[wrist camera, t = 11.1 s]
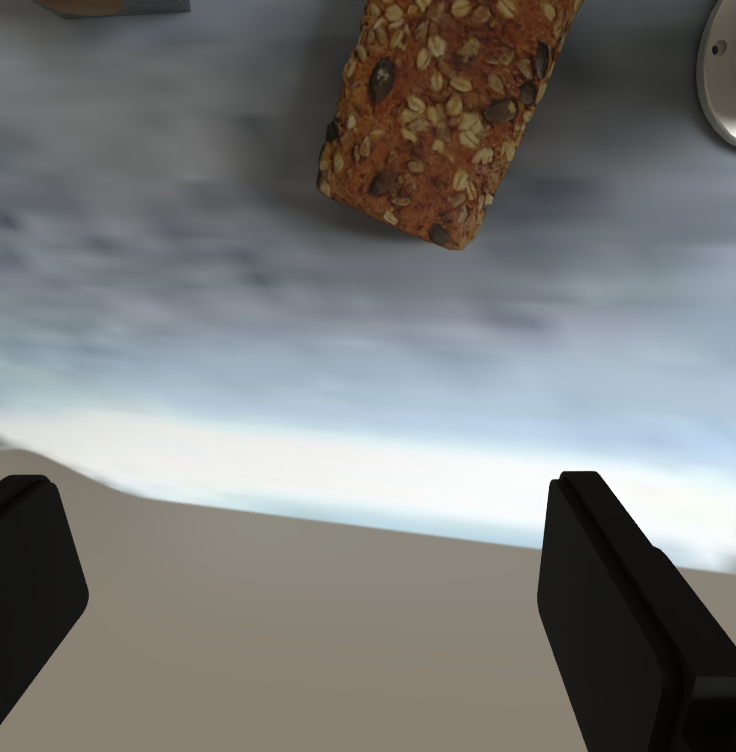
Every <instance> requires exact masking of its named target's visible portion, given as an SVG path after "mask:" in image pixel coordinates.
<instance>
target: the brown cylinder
mask: <svg viewBox="0 0 736 752" xmlns="http://www.w3.org/2000/svg"><path fill="white" fill-rule="evenodd" d="M37 1H38V2H39V3H41V4H43V5H45V6H47V7H49V8H52V9H55V10H59V11H62V12H67V13H72V14H79V15H93V16H97V15H109V14H113V13H117V12H119V11H120V10H121V9H122V8H123V5H122V0H37Z"/></svg>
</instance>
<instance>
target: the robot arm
mask: <svg viewBox="0 0 736 752" xmlns="http://www.w3.org/2000/svg"><path fill="white" fill-rule="evenodd" d="M712 48H713V49H714V54H713V53H712ZM696 82H697V89H698V96H699V100H700V103H701V106H702V109H703V112H704V114H705V116H706V118H707V120H708V121H709V123H710V124H711V126H712V127H713V129H714V130H715V131H716V132H717V133H718V134H719V135H720V136H721V137H722V138H723V139H724V140H725V141H726V142H728V143H730V144H732V145H733V146H735V147H736V0H718V1H717V3H716V4H715V6H714V8H713V10H712V12H711V13H710V16H709V18H708V21H707V23H706V26H705V29H704V31H703V34H702V37H701V42H700V46H699V51H698V56H697V69H696ZM88 599H89V592H88V588H87V584H86V581H85V577H84V574H83V571H82V567H81V564H80V561H79V557H78V554H77V551H76V547H75V544H74V541H73V538H72V534H71V531H70V528H69V524H68V521H67V518H66V514H65V511H64V508H63V504H62V501H61V498H60V494H59V491H58V488H57V486H56V485H55V484H54V483H51V482H50V480H49V479H48V478H47V477H46V476H44V475H9V476H7V477H5V478H3V479H2V480H1V481H0V725H1V723H2V722H3V721H4V719H5V718H6V717H7V715H8V714H9V712H10V711H11V710H12V708H13V707H14V706H15V704H16V703H17V702H18V700H19V699H20V698H21V696H22V695H23V693H24V692H25V690H26V689H27V688H28V687H29V685H30V684H31V683H32V681H33V680H34V678H35V677H36V676H37V674H38V673H39V672H40V670H41V669H42V668H43V666H44V665H45V664H46V662H47V661H48V660H49V658H50V657H51V656H52V654H53V653H54V651H55V650H56V649H57V647H58V646H59V645H60V643H61V642H62V641H63V639H64V638H65V637H66V635H67V634H68V632H69V631H70V630H71V628H72V627H73V626H74V624H75V623H76V622H77V620H78V619H79V618H80V616H81V615H82V613H83V612H84V610H85V609H86V606H87V603H88ZM537 603H538V609H539V614H540V617H541V620H542V623H543V626H544V628H545V631H546V634H547V637H548V640H549V642H550V646H551V648H552V651H553V654H554V657H555V660H556V662H557V665H558V668H559V671H560V674H561V677H562V679H563V682H564V685H565V688H566V690H567V693H568V696H569V699H570V702H571V705H572V708H573V711H574V713H575V716H576V719H577V722H578V725H579V727H580V730H581V733H582V736H583V739H584V742H585V744H586V747H587V750H588V752H736V646H735V644H734V643H733V642H732V641H731V639H730V638H729V637H728V635H727V634H726V633H725V631H724V630H723V629H722V628H721V626H720V625H719V624H718V622H717V621H716V620H715V618H714V617H713V616H712V614H711V613H710V612H709V611H708V609H707V608H706V607H705V605H704V604H703V603H702V601H701V600H700V599H699V597H698V596H697V595H696V594H695V592H694V591H693V590H692V588H691V587H690V586H689V584H688V583H687V582H686V580H685V579H684V578H683V577H682V575H681V574H680V573H679V571H678V570H677V569H676V567H675V566H674V565H673V563H672V562H671V561H670V559H669V558H668V557H667V556H666V555H665V554H664V553H663V552H662V551H661V550H660V549H659V548H656V547H654V546H653V545H652V544H651V543H650V541H649V540H648V539H647V537H646V536H645V535H644V533H643V532H642V531H641V529H640V528H639V527H638V525H637V524H636V523H635V521H634V520H633V519H632V517H631V516H630V515H629V513H628V512H627V511H626V509H625V508H624V507H623V505H622V504H621V503H620V501H619V500H618V499H617V497H616V496H615V495H614V493H613V492H612V491H611V489H610V488H609V486H608V485H607V484H606V482H605V481H604V480H603V478H602V477H601V476H600V475H599V474H598V473H597V472H595V471H563V472H562V473H561V475H560V478H559V479H553V480H551V482H550V485H549V493H548V502H547V511H546V520H545V529H544V538H543V547H542V556H541V565H540V574H539V583H538V592H537Z"/></svg>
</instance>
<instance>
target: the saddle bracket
mask: <svg viewBox="0 0 736 752" xmlns="http://www.w3.org/2000/svg"><path fill="white" fill-rule="evenodd" d="M30 1H32V2H34V3H36V4H38V5H39V6H41V7H43V8H45V9H47V10H49V11H51V12H52V13H54V14H56V15H58V16H60V17H62V18H64V19H75V18H91V17H107V16H123V15H140V14H156V13H172V12H188V11H190V4H189V0H122V5H123V8H122V9H121V10H120V11H119V12H117V13H113V14H109V15H97V16H93V15H79V14H72V13H67V12H62V11H59V10H55V9H52V8H49V7H47V6H45V5H43V4H41V3H39V2H38V1H37V0H30Z"/></svg>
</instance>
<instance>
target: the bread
mask: <svg viewBox="0 0 736 752" xmlns="http://www.w3.org/2000/svg"><path fill="white" fill-rule="evenodd" d="M583 1H584V0H368V1H367V2H366V4H365V10H364V14H363V17H362V19H361V21H360V29H361V34H360V36H359V38H358V44H357V45H355V46H354V48H353V50H352V52H351V54H350V57H351V58H350V60H349V61H348V62H347V63H346V64H345V65H344V68H343V71H342V83H341V87H340V95H339V97H338V100H337V107H336V112H335V115H334V118H333V121H332V122H331V123H330V124H329V125H328V126H327V133H326V142H325V143H324V145H323V146H322V148H321V153H320V157H319V171H318V176H317V181H316V184H317V187H316V189H315V190H318V191H319V192H321V193H322V194H323V195H324V196H326V197H328V198H331V199H333V200H335V201H337V202H339V203H341V204H344V205H346V206H348V207H351V208H353V209H356V210H358V211H360V212H362V213H364V214H366V215H368V216H370V217H372V218H374V219H376V220H378V221H381V222H383V223H385V224H388V225H391V226H393V227H396V228H398V229H400V230H402V231H404V232H406V233H408V234H410V235H412V236H415V237H417V238H420V239H422V240H424V241H426V242H429V243H434V244H436V245H438V246H441V247H444V248H446V249H449V250H459V251H462V250H464V248H465V247H466V245H467V244H469V243H470V242H472V241H473V240H474V238H475V237H476V235H477V234H478V232H479V229H480V227H481V225H482V222H483V219H484V216H485V211H486V206H487V205H492V201H493V198H494V195H495V193H496V190H497V188H498V186H499V183H500V181H501V180H502V178H503V177H504V175H505V173H506V172H507V169H508V167H509V165H510V163H511V161H512V159H513V157H514V155H515V149H516V148H518V147H519V145H520V143H521V140H522V138H523V135H524V133H525V131H526V126H527V124H528V122H529V121H530V119H531V117H532V115H533V114H534V112H535V108H536V106H537V104H538V102H539V101H540V100H541V98H542V97H543V95H544V92H545V89H546V86H547V80H548V79H549V78H550V76H551V73H552V70H553V67H554V64H555V61H556V59H557V57H558V55H559V53H560V51H561V49H562V46H563V43H564V40H565V37H566V35H567V32H568V30H569V27H570V25H571V23H572V21H573V19H574V17H575V16H576V14H577V12H578V10H579V8H580V7H581V5H582V3H583Z"/></svg>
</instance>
